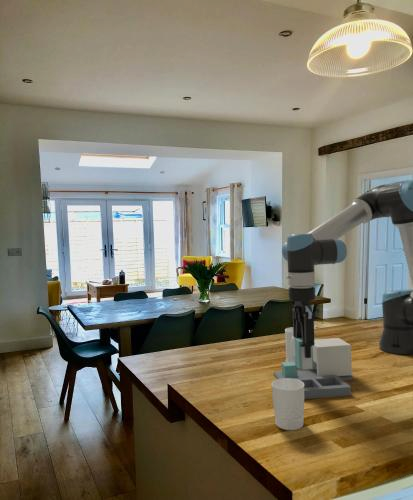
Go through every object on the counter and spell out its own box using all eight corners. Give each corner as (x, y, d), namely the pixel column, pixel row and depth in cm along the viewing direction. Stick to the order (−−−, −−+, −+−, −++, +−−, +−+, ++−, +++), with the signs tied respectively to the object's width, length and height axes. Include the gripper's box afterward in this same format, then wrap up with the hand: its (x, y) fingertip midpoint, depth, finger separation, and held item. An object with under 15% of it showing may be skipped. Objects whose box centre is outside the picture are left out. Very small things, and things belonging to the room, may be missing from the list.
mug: (302, 369, 134) (301, 335, 134) (279, 366, 139) (277, 333, 139) (312, 360, 144) (311, 327, 144) (290, 357, 149) (289, 326, 149)
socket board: (336, 382, 121) (336, 374, 121) (351, 395, 111) (350, 386, 111) (286, 386, 120) (285, 378, 120) (296, 399, 110) (296, 391, 110)
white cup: (269, 418, 100) (268, 379, 99) (299, 415, 100) (298, 377, 100) (278, 433, 92) (276, 391, 92) (310, 430, 92) (309, 388, 92)
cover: (339, 366, 132) (338, 337, 132) (352, 375, 123) (350, 344, 123) (308, 368, 131) (307, 340, 131) (318, 377, 122) (316, 347, 122)
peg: (308, 364, 117) (307, 337, 117) (313, 368, 113) (312, 341, 113) (295, 365, 117) (294, 338, 117) (299, 369, 113) (298, 341, 113)
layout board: (339, 369, 133) (339, 355, 133) (353, 380, 123) (352, 364, 123) (273, 374, 131) (272, 360, 131) (281, 385, 121) (281, 369, 121)
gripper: (280, 284, 123) (283, 358, 123) (298, 290, 106) (301, 376, 106) (304, 282, 123) (306, 356, 124) (325, 289, 106) (328, 374, 107)
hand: (304, 365), depth 115 cm, fingers closed on peg, 4 cm apart
